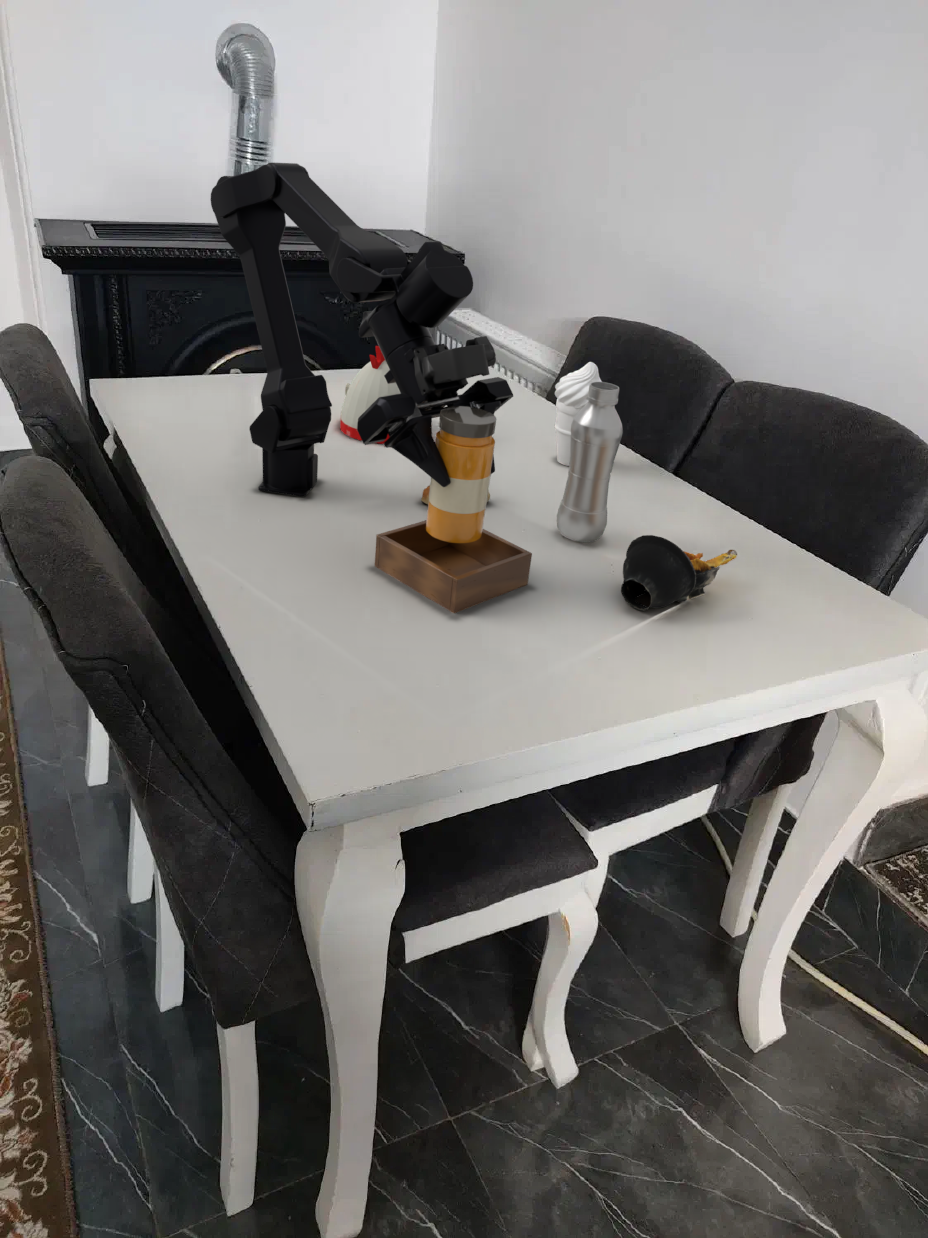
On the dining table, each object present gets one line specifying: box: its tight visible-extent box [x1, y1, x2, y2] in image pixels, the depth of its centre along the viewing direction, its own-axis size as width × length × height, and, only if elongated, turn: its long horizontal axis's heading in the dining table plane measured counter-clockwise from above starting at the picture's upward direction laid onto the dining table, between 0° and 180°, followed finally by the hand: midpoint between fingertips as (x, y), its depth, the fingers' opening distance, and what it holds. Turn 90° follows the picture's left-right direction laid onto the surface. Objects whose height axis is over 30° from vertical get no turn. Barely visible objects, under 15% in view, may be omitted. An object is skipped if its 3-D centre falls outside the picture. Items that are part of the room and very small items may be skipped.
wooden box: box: [374, 519, 533, 614], centre depth 106 cm, size 13×12×4 cm
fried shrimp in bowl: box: [620, 534, 738, 612], centre depth 107 cm, size 9×11×18 cm
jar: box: [426, 406, 497, 543], centre depth 101 cm, size 6×6×14 cm
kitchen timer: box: [339, 345, 401, 445], centre depth 147 cm, size 14×14×15 cm
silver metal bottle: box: [556, 381, 624, 543], centre depth 116 cm, size 6×7×20 cm
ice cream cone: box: [554, 361, 603, 467], centre depth 142 cm, size 8×8×16 cm
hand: (469, 479), depth 100 cm, fingers closed on jar, 6 cm apart
